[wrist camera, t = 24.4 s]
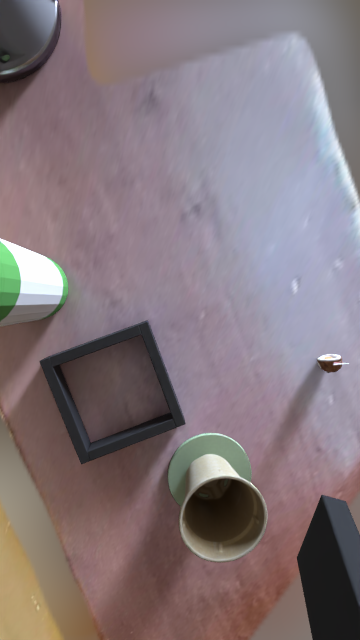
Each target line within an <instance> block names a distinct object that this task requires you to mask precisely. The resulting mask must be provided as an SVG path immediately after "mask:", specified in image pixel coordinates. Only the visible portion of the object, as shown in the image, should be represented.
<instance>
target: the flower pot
mask: <svg viewBox="0 0 360 640" xmlns="http://www.w3.org/2000/svg"><path fill="white" fill-rule="evenodd" d="M226 479H228V481H227V484H226V486H224V483H225V482H224V481H225V480H226ZM185 481H186V482H185V499H184V501H183V503H182V506H181V509H180V514H179V529H180V533H181V536H182V539H183V541H184V543H185V544H186V546H187V547H188V548H189V550H190V551H191V552H192V553H194V554H195V555H196V556H198V557H199V558H201V559H204V560H207V561H211V562H229V561H233V560H237V559H239V558H241V557H243V556H245V555H246V554H248V553H249V552H250V551H252V550H253V549H254V548H255V547H256V546H257V544H258V543H259V542H260V540H261V538H262V536H263V535H264V532H265V530H266V525H267V508H266V504H265V501H264V499H263V497H262V495H261V494H260V492H259V491H258V489H257V488H256V487H255V486H254V485H253V484H251V483H250V482H249V481H247V480H245V479H243V478H241V477H240V476H239V475H238V474H237V473H236V471H235V470H234V469H233V468H232V467H231V465H230V464H229V463H228V462H227V461H226V460H225V459H224V458H222V457H221V456H218V455H214V454H206V455H203V456H201V457H199V458H198V459H196V460H194V461H193V462H192V463H191V464H190V466H189V467H188V469H187V472H186V478H185ZM199 493H201V494H205V495H208V497H202V496H200V495H199Z"/></svg>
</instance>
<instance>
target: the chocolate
mask: <svg viewBox="0 0 360 640" xmlns="http://www.w3.org/2000/svg"><path fill="white" fill-rule="evenodd" d="M317 361H318V363H317V364H318V365H319V367H320V368H321V369H322V370H324V371H327V373H330V372H336V371H338V370H339V369H340V368H341V367H342V364H348V363H342V357H341V356H340V355H335V354H334V355H332V354H330V355H325V356H322V357H320V358H318V359H317Z"/></svg>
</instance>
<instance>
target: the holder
mask: <svg viewBox="0 0 360 640" xmlns="http://www.w3.org/2000/svg"><path fill="white" fill-rule="evenodd" d="M141 334H142V337H143V340H144V342H145V345H146V348H147V350H148V353H149V356H150V358H151V361H152V364H153V366H154V369H155V372H156V374H157V377H158V380H159V382H160V385H161V388H162V390H163V393H164V396H165V398H166V401H167V404H168V406H169V409H170V412H171V413H168V414H166V415H163V416H161V417H158V418H155V419H153V420H150V421H148V422H145V423H142V424H140V425H137V426H134V427H132V428H129V429H127V430H124V431H121V432H119V433H116V434H114V435H111V436H108V437H106V438H103V439H101V440H98V441H95V442H93V443H91V442H90V440H89V437H88V435H87V433H86V430H85V428H84V425H83V423H82V420H81V418H80V415H79V413H78V410H77V408H76V405H75V403H74V400H73V398H72V395H71V393H70V390H69V388H68V385H67V383H66V380H65V378H64V375H63V373H62V370H61V368H60V364H63V363H65V362H68V361H71V360H73V359H76V358H79V357H82V356H84V355H87V354H90V353H92V352H95V351H98V350H101V349H103V348H106V347H109V346H111V345H114V344H117V343H120V342H122V341H125V340H128V339H130V338H133V337H136V336H139V335H141ZM40 364H41V366H42V369H43V371H44V374H45V376H46V379H47V381H48V384H49V386H50V388H51V391H52V393H53V396H54V398H55V401H56V403H57V406H58V408H59V411H60V413H61V416H62V418H63V421H64V423H65V425H66V428H67V430H68V433H69V435H70V438H71V440H72V443H73V445H74V448H75V450H76V453H77V455H78V457H79V460H80V462H81V464H84V463H86V462H89V461H91V460H94V459H96V458H99V457H102V456H104V455H107V454H109V453H112V452H114V451H117V450H120V449H122V448H125V447H127V446H130V445H132V444H135V443H138V442H140V441H143V440H145V439H148V438H151V437H153V436H156V435H158V434H161V433H163V432H166V431H169V430H171V429H174V428H176V427H179V426H181V425H184V424H185V420H184V416H183V414H182V411H181V408H180V405H179V403H178V400H177V397H176V395H175V392H174V389H173V387H172V384H171V381H170V379H169V376H168V373H167V370H166V368H165V365H164V362H163V360H162V357H161V354H160V352H159V349H158V346H157V344H156V341H155V338H154V336H153V333H152V330H151V327H150V325H149V322H148V321H144V322H142V323H139V324H136V325H134V326H131V327H128V328H125V329H123V330H120V331H117V332H114V333H112V334H109V335H106V336H103V337H101V338H98V339H95V340H93V341H90V342H87V343H84V344H82V345H79V346H76V347H73V348H71V349H68V350H65V351H63V352H60V353H57V354H54V355H52V356H49V357H46V358H44V359H43V360H41V361H40Z"/></svg>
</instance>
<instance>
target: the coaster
mask: <svg viewBox="0 0 360 640" xmlns="http://www.w3.org/2000/svg"><path fill="white" fill-rule="evenodd" d="M206 454H214V455H218V456H221V457H222V458H224V459H225V460H226V461H227V462H228V463H229V464H230V465H231V467H232V468H233V469H234V470H235V471H236V473H237V474H238V475H239V476H240V477H241V478H243V479H245V480H247V481H249V482H251V465H250V461H249V459H248V456H247V455H246V453H245V451H244V450H243V448H242V447H241V446H240V445H239V444H238V443H237V442H236V441H234V440H233V439H231V438H230V437H228V436H225V435H222V434H217V433H205V434H200V435H197V436H194V437H192V438H190V439H188V440H187V441H185V442H184V443H183V444H182V445H181V446H180V447H179V448H178V449H177V450H176V452H175V453H174V455H173V456H172V459H171V461H170V464H169V468H168V484H169V488H170V492H171V494H172V496H173V498H174V499H175V501H176V502H177V503H178V504H179V505H180V506H182V503H183V501H184V499H185V482H186V481H185V478H186V472H187V469H188V467H189V466H190V464H191V463H192V462H193V461H194V460H196V459H198V458H199V457H201V456H203V455H206ZM227 481H228V479H226V480H225V481H224V482H225V483H224V486H226V484H227ZM199 495H200V496H202V497H208V495H205V494H201V493H199Z"/></svg>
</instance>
